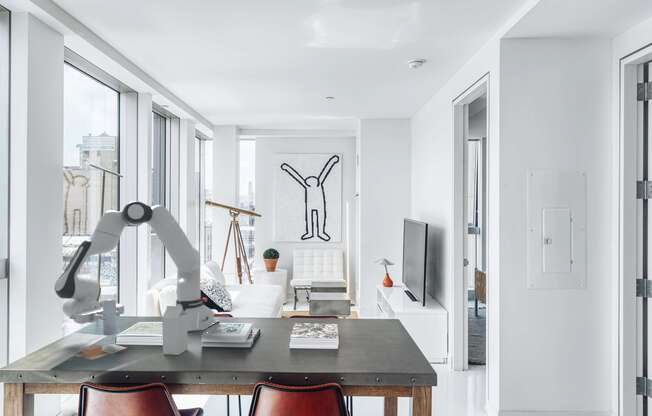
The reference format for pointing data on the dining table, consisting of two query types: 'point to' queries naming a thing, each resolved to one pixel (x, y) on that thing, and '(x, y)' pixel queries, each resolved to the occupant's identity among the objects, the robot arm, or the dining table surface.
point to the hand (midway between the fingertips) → (111, 315)
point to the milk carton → (174, 330)
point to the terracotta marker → (92, 350)
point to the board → (104, 351)
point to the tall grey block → (109, 316)
